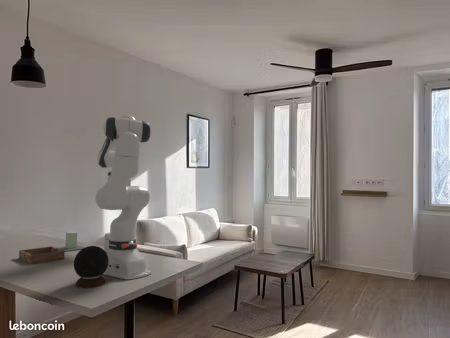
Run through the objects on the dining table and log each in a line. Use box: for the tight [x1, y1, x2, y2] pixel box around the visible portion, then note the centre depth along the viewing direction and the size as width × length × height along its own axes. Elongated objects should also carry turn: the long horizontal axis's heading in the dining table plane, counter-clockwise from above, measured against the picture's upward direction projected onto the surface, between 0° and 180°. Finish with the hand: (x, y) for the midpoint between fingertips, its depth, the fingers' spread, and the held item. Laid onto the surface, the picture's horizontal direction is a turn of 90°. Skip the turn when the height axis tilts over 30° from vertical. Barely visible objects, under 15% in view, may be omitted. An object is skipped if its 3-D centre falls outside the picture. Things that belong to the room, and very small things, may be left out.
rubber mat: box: [56, 244, 85, 253], centre depth 199 cm, size 12×12×1 cm
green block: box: [65, 231, 78, 249], centre depth 199 cm, size 4×4×9 cm
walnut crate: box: [18, 245, 66, 265], centre depth 175 cm, size 16×16×4 cm
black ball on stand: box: [73, 245, 109, 289], centre depth 137 cm, size 13×13×15 cm
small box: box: [103, 231, 110, 253], centre depth 195 cm, size 8×6×10 cm
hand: (118, 196), depth 206 cm, fingers open, 8 cm apart
